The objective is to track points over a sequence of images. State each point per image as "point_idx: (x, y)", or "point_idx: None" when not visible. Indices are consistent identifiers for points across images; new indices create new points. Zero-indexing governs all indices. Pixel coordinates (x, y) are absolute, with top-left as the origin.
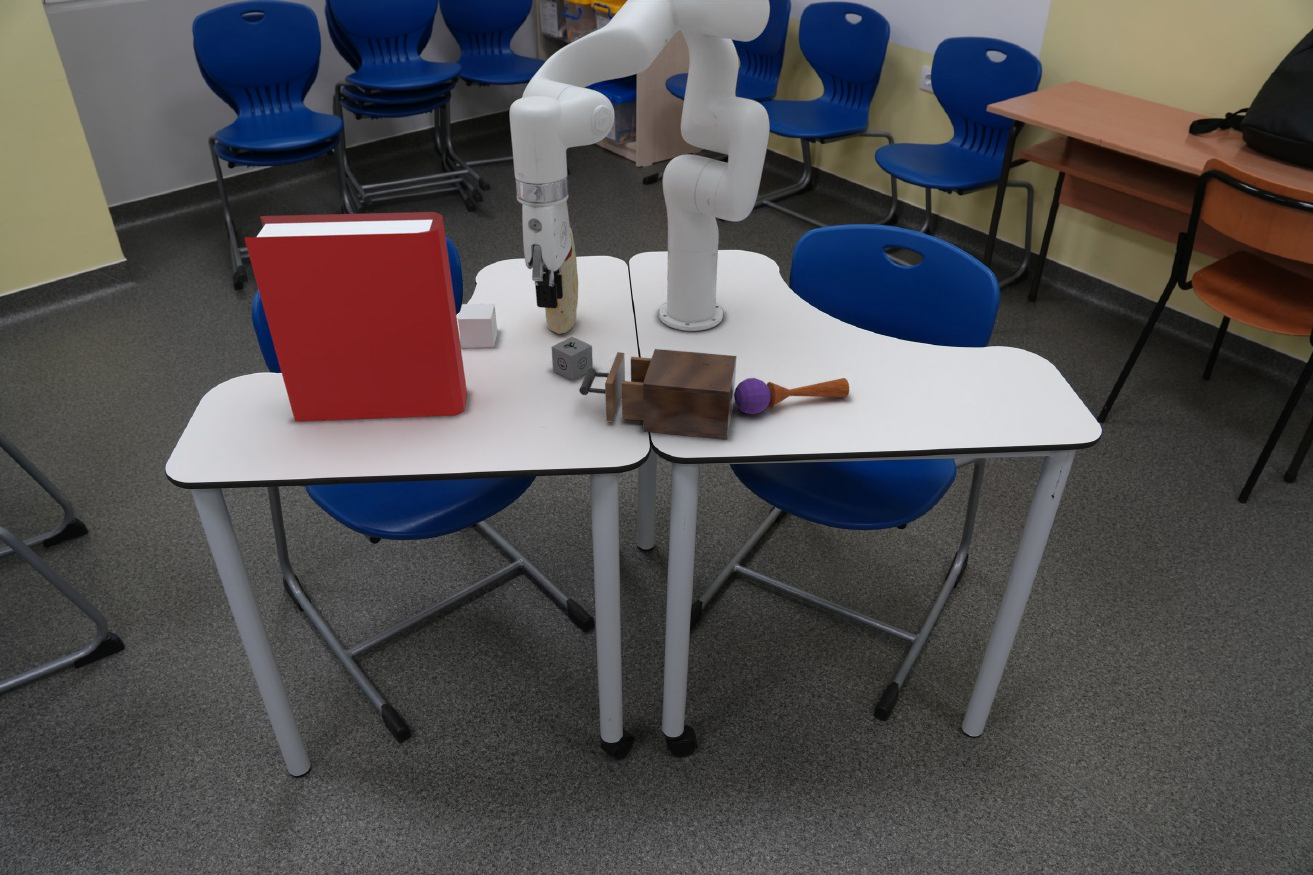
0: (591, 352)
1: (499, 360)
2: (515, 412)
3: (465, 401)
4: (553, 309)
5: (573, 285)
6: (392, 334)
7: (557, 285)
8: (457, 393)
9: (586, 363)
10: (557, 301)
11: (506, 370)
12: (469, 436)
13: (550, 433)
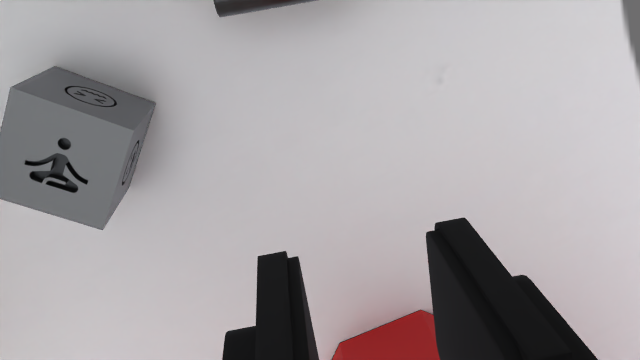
0: (27, 82)
1: (144, 352)
2: (386, 188)
3: (381, 328)
4: None
5: None
6: None
7: (310, 354)
8: None
9: (72, 85)
10: (453, 240)
11: (186, 311)
12: (525, 243)
13: (464, 42)
